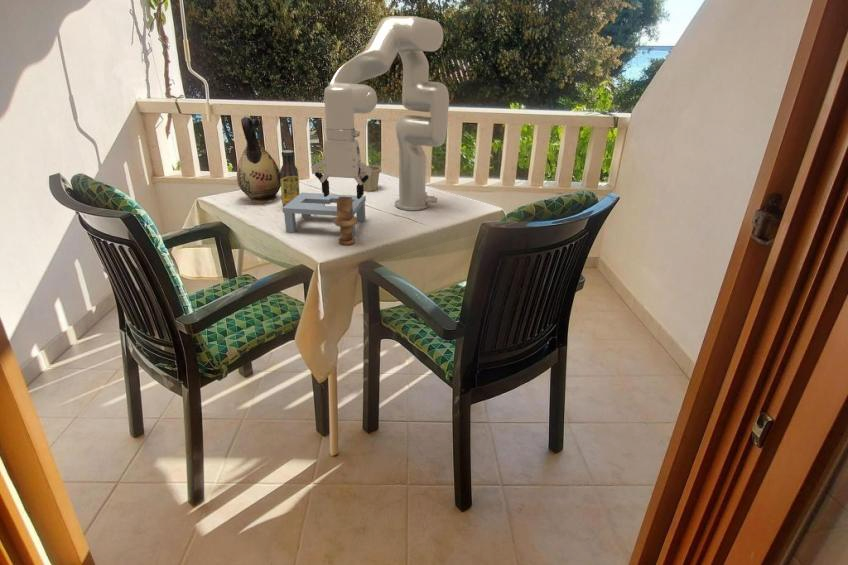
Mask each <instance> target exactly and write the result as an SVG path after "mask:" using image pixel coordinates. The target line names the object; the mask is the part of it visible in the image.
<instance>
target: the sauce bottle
mask: <svg viewBox="0 0 848 565" xmlns="http://www.w3.org/2000/svg"><path fill="white" fill-rule="evenodd" d="M294 156H295V152H294V150H292V149H290V150H288V149H287V150H285V149H284V150H282V151H281V157H282V165H281V168H280V169H279V171H280V176H281V178H280V181H281V187H280V191H281V192H280V193H281V203H282V208H283V207H284V206H285V205H287V204H288V203H289V202H290V201H292V200H293V199H294V198H295V197H297V196H298V195H299V194H300V193H301V192H300V182H299V181H300V180H299V170H298V168H297V167H296V165H295V158H294Z"/></svg>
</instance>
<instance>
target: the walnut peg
mask: <svg viewBox="0 0 848 565" xmlns="http://www.w3.org/2000/svg"><path fill="white" fill-rule="evenodd" d="M336 206H337V216H335V217H334V225H335V226H336V227H339V232H340V237H339V238H338V239H337V240H338V244H339V245H341V246H352V245H354V244H355V243H356V240H355V239H356V238H355V237H354V236H353V237H352V226H354V225H355V226H356V225H357V222H358V221H357V216H355V215H354V216H353V206H352V197H339V198H338V199H337V203H336Z"/></svg>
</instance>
